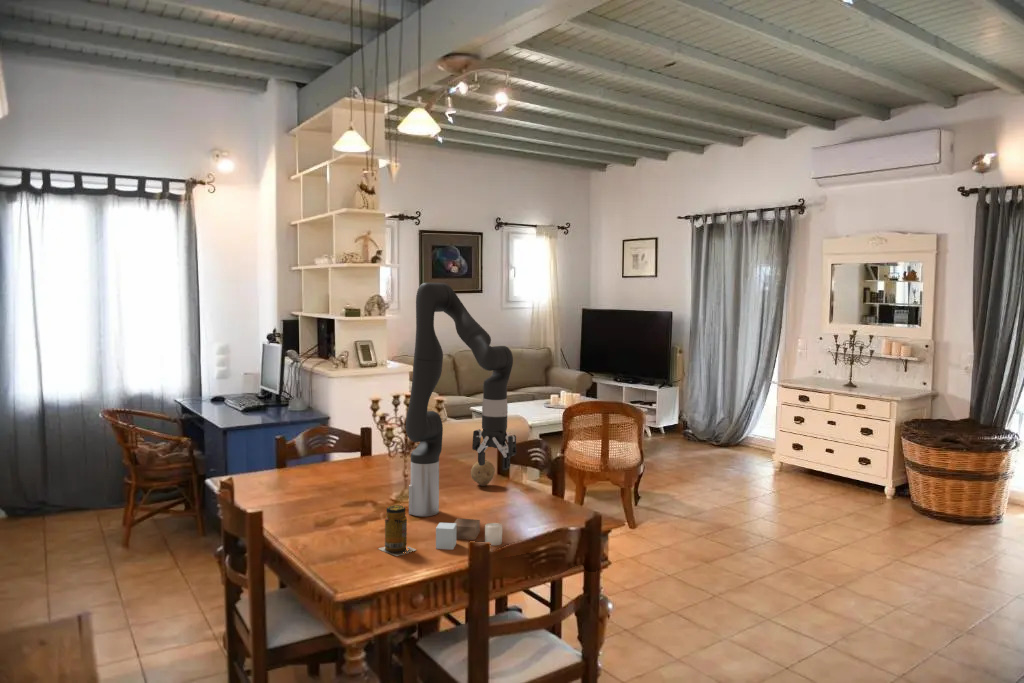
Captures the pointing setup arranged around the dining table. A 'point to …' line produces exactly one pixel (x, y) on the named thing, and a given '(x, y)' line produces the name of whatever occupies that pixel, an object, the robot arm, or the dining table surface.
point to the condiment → (396, 531)
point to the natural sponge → (482, 473)
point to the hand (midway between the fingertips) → (493, 467)
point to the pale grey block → (446, 536)
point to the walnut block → (467, 528)
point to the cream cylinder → (493, 533)
